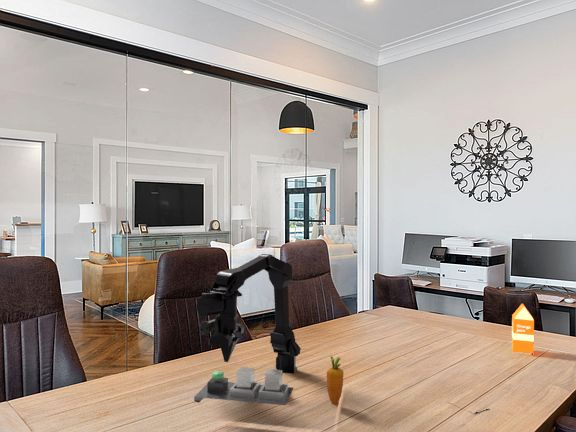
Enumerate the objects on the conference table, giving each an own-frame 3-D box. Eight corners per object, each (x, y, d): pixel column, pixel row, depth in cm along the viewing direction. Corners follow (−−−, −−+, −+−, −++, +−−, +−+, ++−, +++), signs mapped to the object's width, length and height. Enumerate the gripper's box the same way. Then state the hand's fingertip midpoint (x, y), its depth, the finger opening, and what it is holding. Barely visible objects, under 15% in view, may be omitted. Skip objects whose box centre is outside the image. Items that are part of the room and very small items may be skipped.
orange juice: (512, 353, 195) (513, 305, 195) (511, 348, 204) (512, 302, 203) (533, 356, 192) (534, 307, 192) (531, 350, 201) (532, 303, 200)
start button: (225, 376, 150) (225, 371, 150) (221, 380, 147) (221, 375, 147) (214, 375, 151) (214, 370, 151) (210, 379, 147) (210, 374, 147)
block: (282, 392, 147) (282, 370, 147) (279, 397, 143) (279, 374, 143) (268, 391, 148) (268, 368, 148) (264, 396, 144) (265, 373, 144)
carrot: (325, 403, 142) (325, 353, 142) (341, 403, 142) (342, 353, 142) (327, 410, 137) (328, 358, 137) (344, 410, 138) (345, 358, 137)
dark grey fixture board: (293, 391, 151) (293, 378, 151) (285, 409, 138) (285, 394, 138) (210, 384, 157) (210, 371, 157) (194, 400, 143) (194, 386, 143)
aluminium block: (253, 389, 149) (254, 367, 149) (250, 395, 145) (250, 372, 144) (240, 388, 150) (240, 366, 150) (236, 394, 145) (236, 371, 145)
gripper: (212, 305, 158) (211, 351, 158) (192, 316, 140) (190, 369, 140) (244, 306, 156) (243, 354, 156) (228, 318, 138) (227, 372, 138)
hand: (226, 361), depth 148 cm, fingers closed
